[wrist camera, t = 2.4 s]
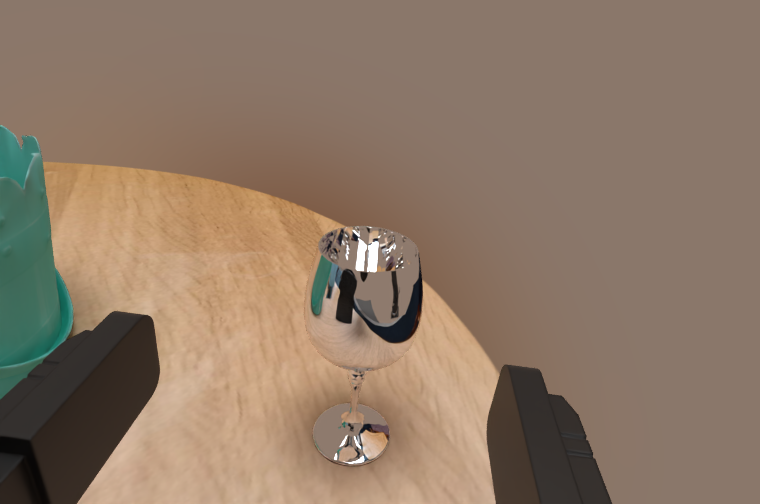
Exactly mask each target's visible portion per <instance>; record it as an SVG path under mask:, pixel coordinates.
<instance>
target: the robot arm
mask: <svg viewBox="0 0 760 504" xmlns="http://www.w3.org/2000/svg"><path fill="white" fill-rule="evenodd" d="M159 374H160V365H159V358H158V351H157V343H156V336H155V329H154V322H153V319H152V318H151V317H150V316H148V315H142V314H134V313H127V312H119V311H114V312H112V313H110V314H109V315H108V316H107V317H106V318H105V319H104V320H103V321H102V322H101V323H100V324H99V325H98V326H97V327H96V328H95V329H94V330H93V331H89V330H85V331H83V332H81V333H79V334H77V335H76V336H74V337H72V338H70V339H68V340H66V341H64V342H62V343H61V344H60V345H59V346H58V347H56V348H55V349H54V350H53V351H52V352H51V353H50V354H49V355H48V356H47V357H46V358H45V359H43V362H42V364H38V365H37V366H36V367H35V368H34V369H33V370H32V371H31V372H29V373H28V376H27V378H23V379H22V380H21V381H20V382H19V383H18V384H17V385H15V386H14V387H13V388H12V389H11V390H10V391H9V392H8V393H7V394H6V395H5V396H4V397H2V398H1V399H0V504H77V503H78V501H79V500H80V498H81V497H82V495H83V494H84V493H85V491H86V490H87V488H88V487H89V485H90V484H91V483H92V481H93V480H94V478H95V477H96V475H97V474H98V472H99V471H100V470H101V468H102V467H103V465H104V464H105V462H106V461H107V460H108V458H109V457H110V455H111V454H112V452H113V451H114V450H115V448H116V447H117V445H118V444H119V442H120V441H121V440H122V438H123V437H124V435H125V434H126V432H127V431H128V430H129V428H130V427H131V425H132V424H133V422H134V421H135V420H136V418H137V417H138V415H139V414H140V412H141V411H142V410H143V408H144V407H145V405H146V404H147V402H148V401H149V400H150V398H151V397H152V395H153V393H154V391H155V389H156V387H157V384H158V380H159ZM487 445H488V452H489V459H490V466H491V473H492V479H493V486H494V493H495V500H496V504H612V502H611V500H610V497H609V494H608V492H607V489H606V486H605V484H604V481H603V479H602V476H601V473H600V471H599V468H598V465H597V463H596V460H595V459H594V458H593V452H592V450H591V447H590V444H589V442H588V440H586V434H585V431H584V429H583V426H582V424H581V421H580V418H579V416H578V414H577V413H576V412H575V411H574V409H573V408H572V407H571V406H570V405H569V404H568V402H567V401H566V400H565V399H564V398H563V397H562V396H559V395H552V394H548V392H547V389H546V386H545V383H544V380H543V377H542V374H541V372H540V370H539V369H535V368H528V367H520V366H512V365H504V366H503V367H502V370H501V373H500V376H499V380H498V383H497V387H496V390H495V394H494V397H493V401H492V404H491V408H490V411H489V415H488V421H487Z"/></svg>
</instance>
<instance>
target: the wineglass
mask: <svg viewBox="0 0 760 504" xmlns="http://www.w3.org/2000/svg"><path fill="white" fill-rule="evenodd" d="M422 305H423V286H422V274H421V266H420V258H419V252H418V248H417V246H416V245H415V244H414V243H413V241H411V240H410V239H409V238H407V237H405V236H404V235H402V234H399V233H397V232H394V231H391V230H388V229H384V228H378V227H370V226H352V227H344V228H340V229H336V230H333V231H331V232H328V233H327V234H325V235H324V236H323V237H322V238H321V239H320V241H319V243H318V246H317V249H316V252H315V255H314V258H313V261H312V265H311V268H310V271H309V276H308V280H307V285H306V291H305V300H304V319H305V326H306V331H307V334H308V337H309V340H310V342H311V343H312V345H313V347H314V348H315V349H316V350H317V352H318V353H319V354H320V355H321V356H322V357H323V358H325V359H326V360H327V361H329V362H330V363H332V364H334V365H336V366H338V367H340V368H343V369H347V370H348V372H347V373H348V379H349V381H350V386H351V401H350V403H342V404H338V405H334V406H332V407H330V408H328V409H326V410H325V411H324V412H322V413H321V414H320V416H319V417H318V418H317V420H316V421H315V423H314V426H313V431H312V436H313V440H314V444H315V446H316V447H317V449H318V451H319V452H320V453H321V454H322V455H323V456H325V457H326V458H327V459H329V460H331V461H333V462H335V463H338V464H342V465H349V466H356V465H363V464H367V463H369V462H372V461H374V460H376V459H377V458H378V457H380V456H381V455H382V454H383V453H384V452H385V450H386V449H387V447H388V445H389V441H390V429H389V426H388V424H387V422H386V420H385V419H384V417H383V416H382V415H381V414H380V413H379V412H377V411H376V410H375V409H373V408H371V407H369V406H366V405H363V404H359V403H358V402H359V393H360V390H361V387H362V383H363V382H364V380H365V376H366V374H367V371H375V370H379V369H382V368H385V367H387V366H390V365H391V364H393V363H395V362H396V361H398V360H399V359H400V358H401V357H403V356H404V354H405V353H406V352H407V351H408V350H409V349H410V347H411V346H412V344H413V342H414V340H415V338H416V335H417V332H418V329H419V326H420V322H421V316H422Z"/></svg>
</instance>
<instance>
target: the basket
mask: <svg viewBox="0 0 760 504" xmlns="http://www.w3.org/2000/svg"><path fill="white" fill-rule="evenodd" d="M22 139H23V145H22V149H21V147H20V145H19V142H18V140H17V138H16V136H15V135H14V134H13V133H12V132H11V131H10V130H8V129H7V128H6V127H4V126H2V125H0V399H1V398H2V397H4V396H5V395H6V394H7V393H8V392H9V391H10V390H11V389H12V388H13V387H14V386H15V385H17V384H18V383H19V382H20V381H21V380H22V379H23V378H27V376H28V373H29V372H31V371H32V370H33V369H34V368H35V367H36V366H37V365H38V364H42V362H43V359H45V358H46V357H47V356H48V355H49V354H50V353H51V352H52V351H53V350H54V349H55V348H56V347H58V346H59V345H60V344H61V343H62V342H64V341H66V339H67V337H68V336H69V334H70V332H71V329H72V324H73V306H72V301H71V298H70V295H69V293H68V290H67V287H66V285H65V283H64V281H63V279H62V277H61V275H60V274H59V272H58V271H57V269H56V268H55V265H54V256H53V248H52V240H51V225H50V217H49V208H48V200H47V196H46V187H45V178H44V169H43V161H42V155H41V150H40V146H39V143H38V141H37V139H36V138H35V137H33V136H27V137H26V136H22Z"/></svg>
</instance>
